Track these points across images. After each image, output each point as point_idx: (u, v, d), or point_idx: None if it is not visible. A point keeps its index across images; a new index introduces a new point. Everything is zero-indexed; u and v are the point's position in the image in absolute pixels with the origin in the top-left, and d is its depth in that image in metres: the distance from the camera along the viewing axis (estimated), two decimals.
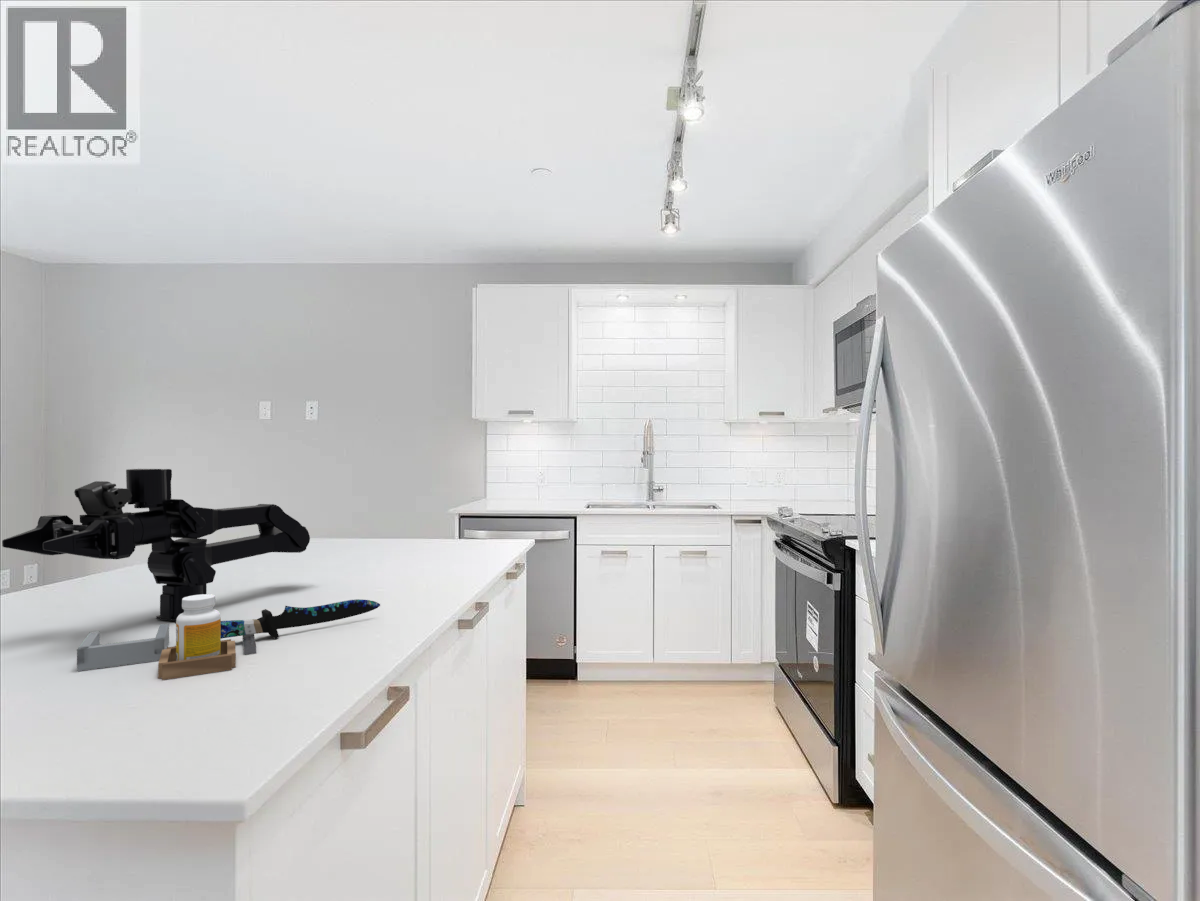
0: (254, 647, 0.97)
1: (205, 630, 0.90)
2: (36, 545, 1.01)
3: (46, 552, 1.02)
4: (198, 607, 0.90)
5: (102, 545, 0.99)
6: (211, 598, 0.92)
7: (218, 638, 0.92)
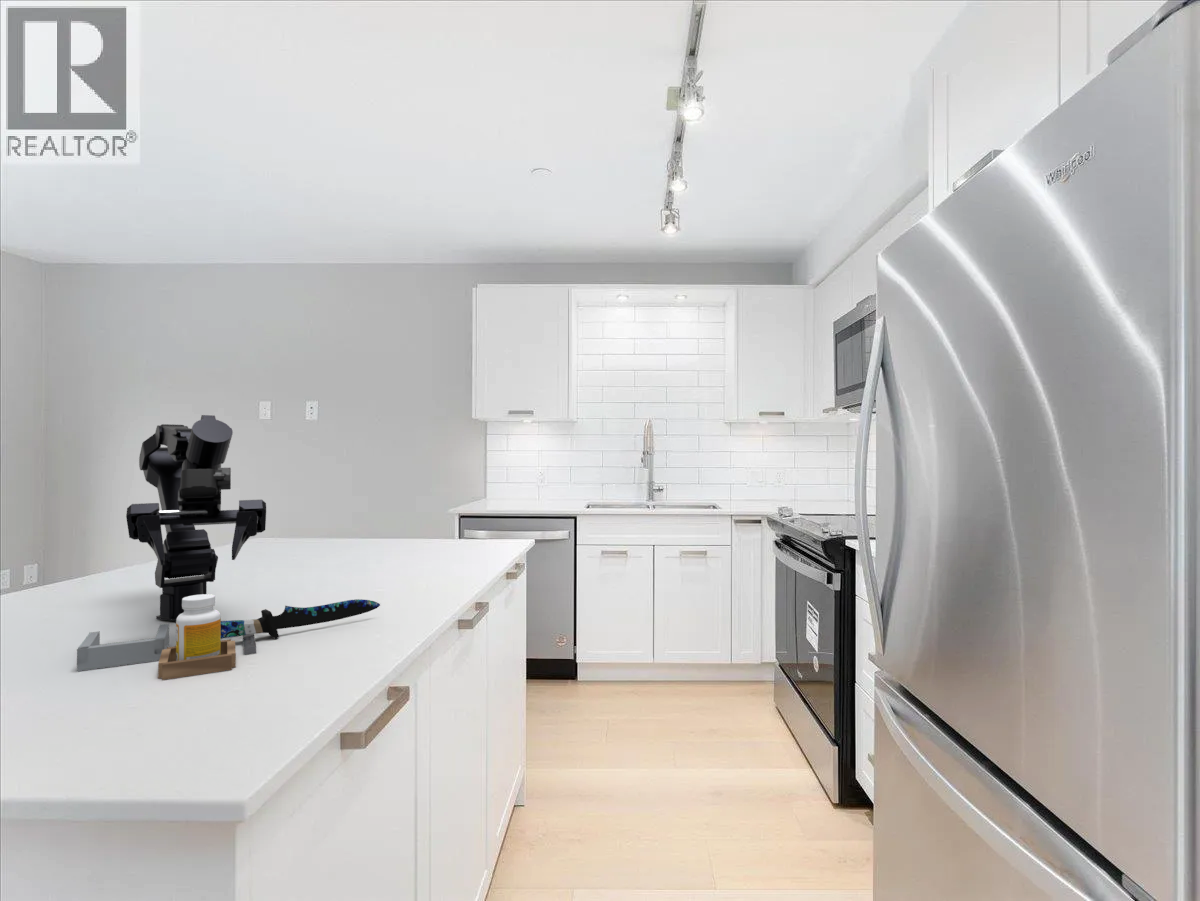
0: (254, 647, 0.97)
1: (205, 630, 0.90)
2: None
3: None
4: (198, 607, 0.90)
5: (250, 528, 1.07)
6: (211, 598, 0.92)
7: (218, 638, 0.92)
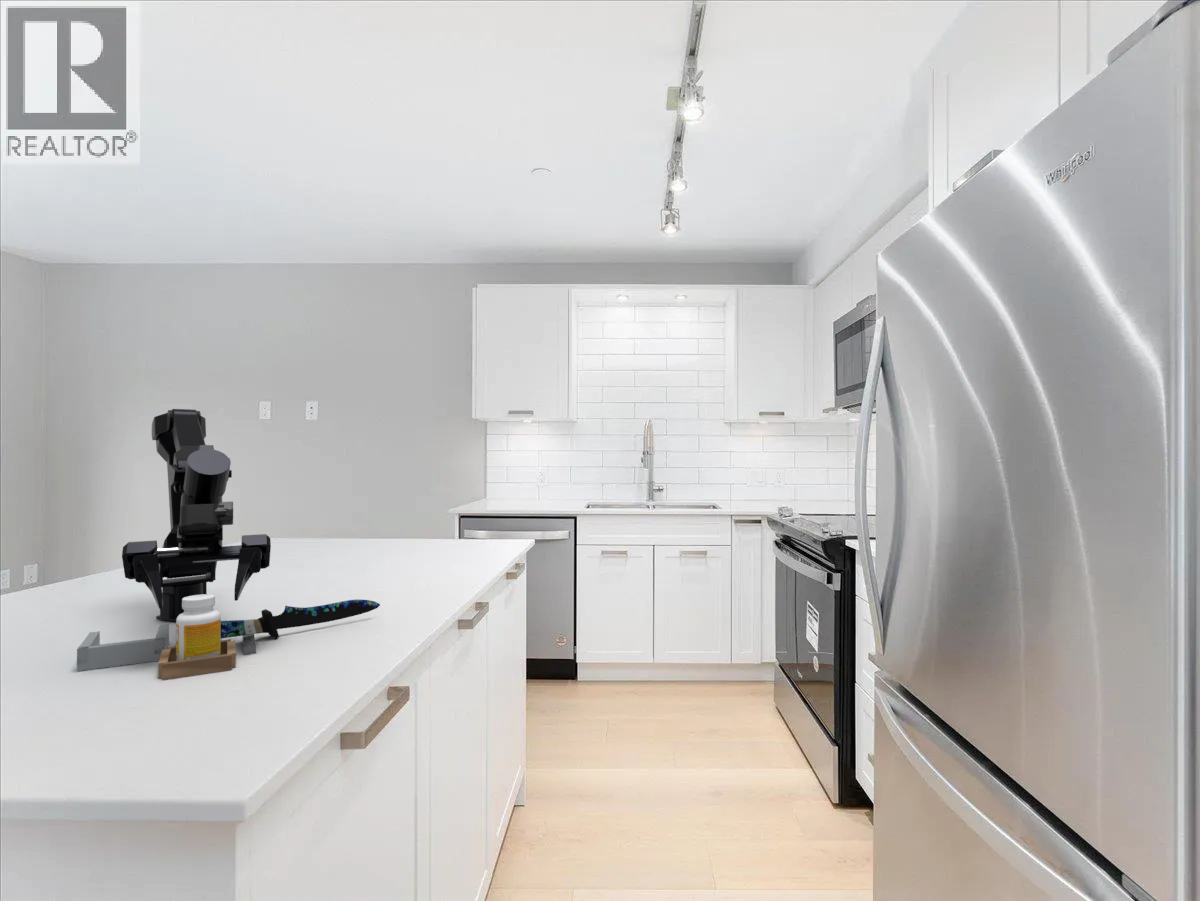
0: (254, 647, 0.97)
1: (205, 630, 0.90)
2: None
3: None
4: (199, 607, 0.90)
5: (253, 565, 1.01)
6: (211, 598, 0.92)
7: (218, 638, 0.92)
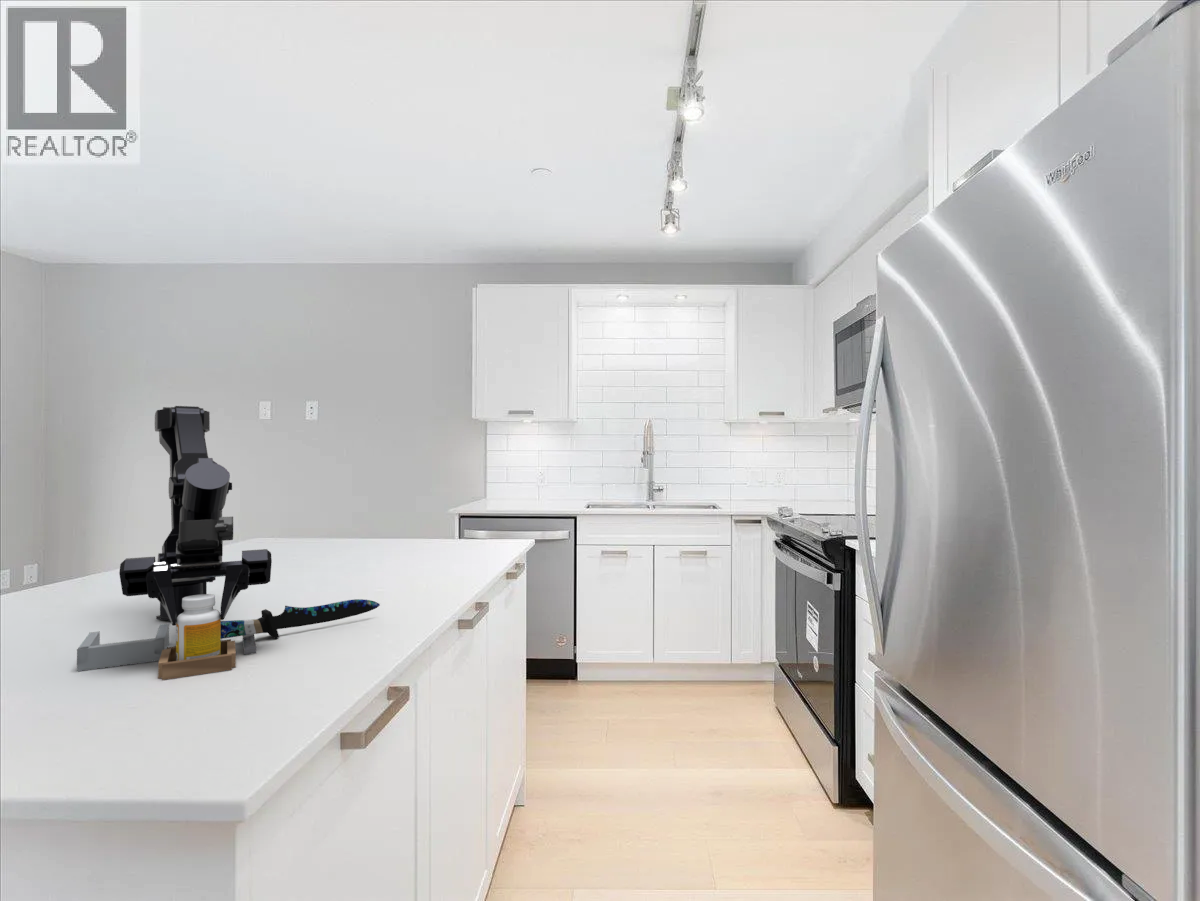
0: (254, 647, 0.97)
1: (205, 629, 0.90)
2: None
3: None
4: (199, 607, 0.90)
5: (241, 582, 0.98)
6: (211, 598, 0.92)
7: (218, 638, 0.92)
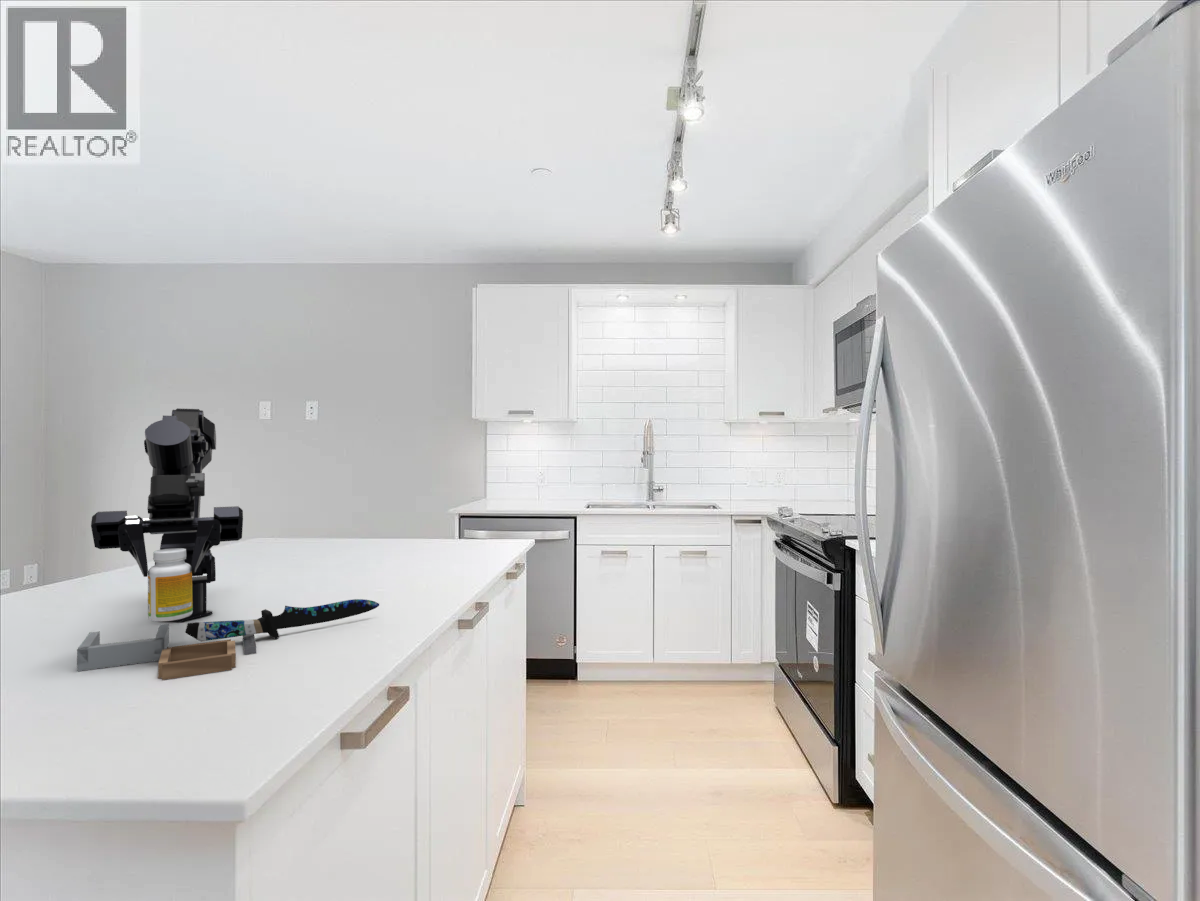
0: (254, 647, 0.97)
1: (177, 581, 0.92)
2: None
3: None
4: (170, 560, 0.92)
5: (212, 538, 1.00)
6: (182, 551, 0.94)
7: (190, 590, 0.94)
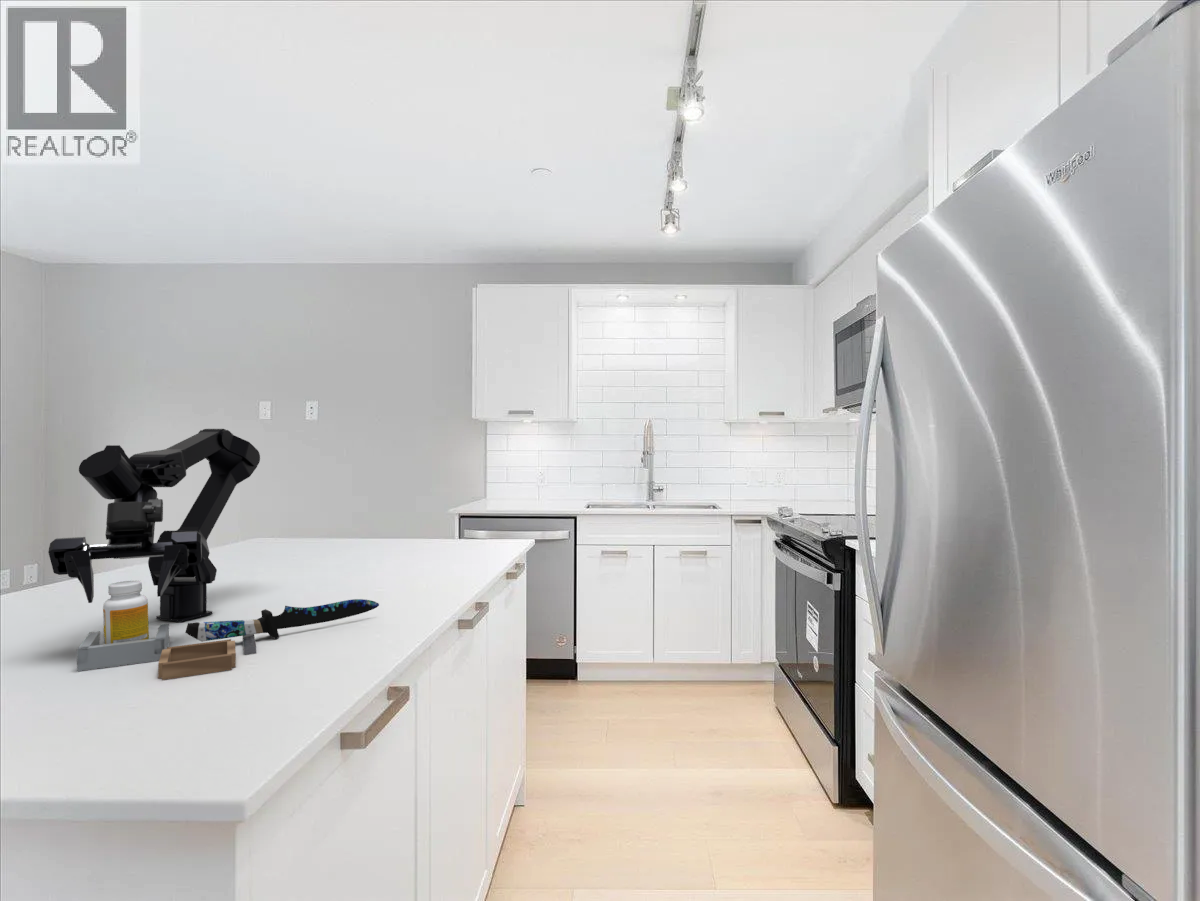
0: (254, 647, 0.97)
1: (131, 614, 0.94)
2: (92, 580, 0.96)
3: (93, 577, 0.98)
4: (124, 593, 0.94)
5: (180, 561, 1.03)
6: (137, 584, 0.96)
7: (145, 622, 0.96)
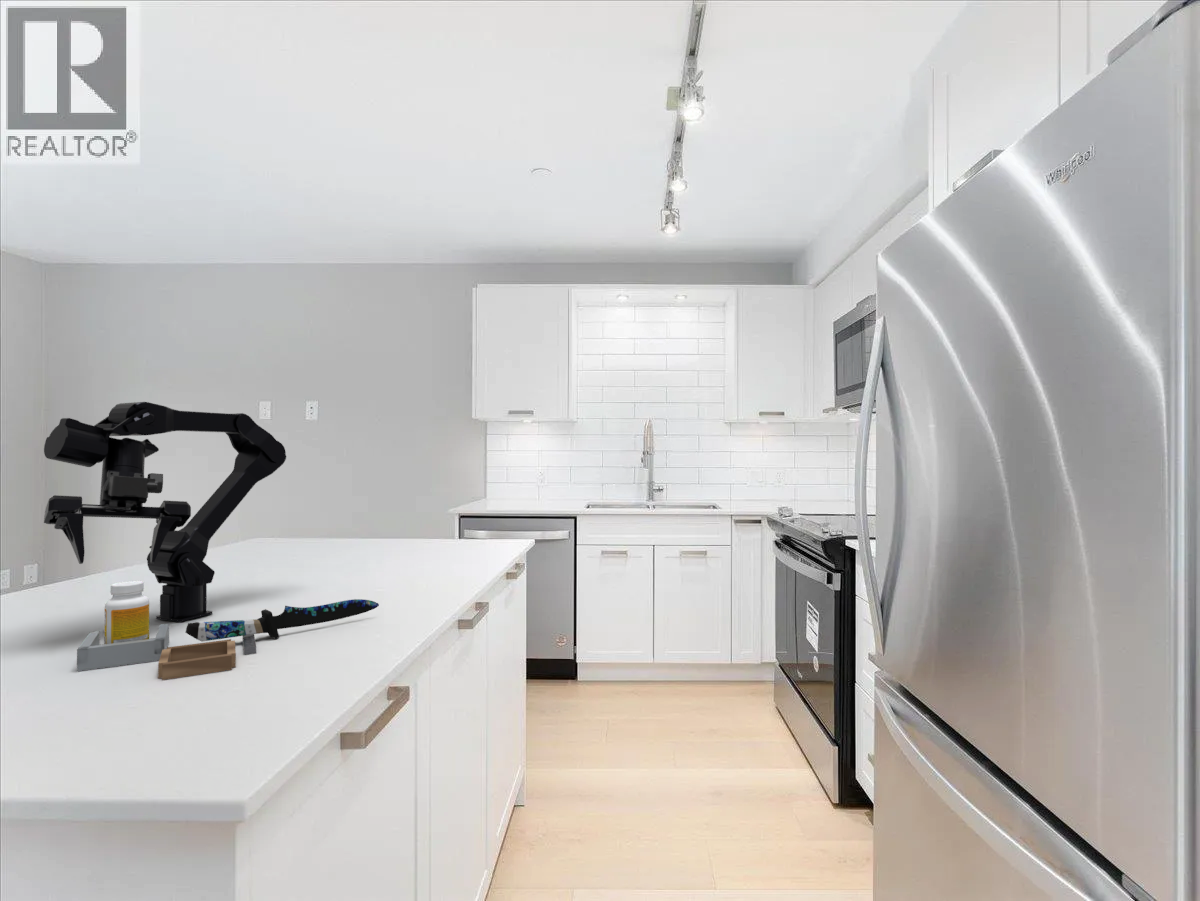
0: (254, 647, 0.97)
1: (132, 614, 0.95)
2: None
3: None
4: (126, 593, 0.95)
5: None
6: (139, 584, 0.96)
7: (146, 622, 0.97)
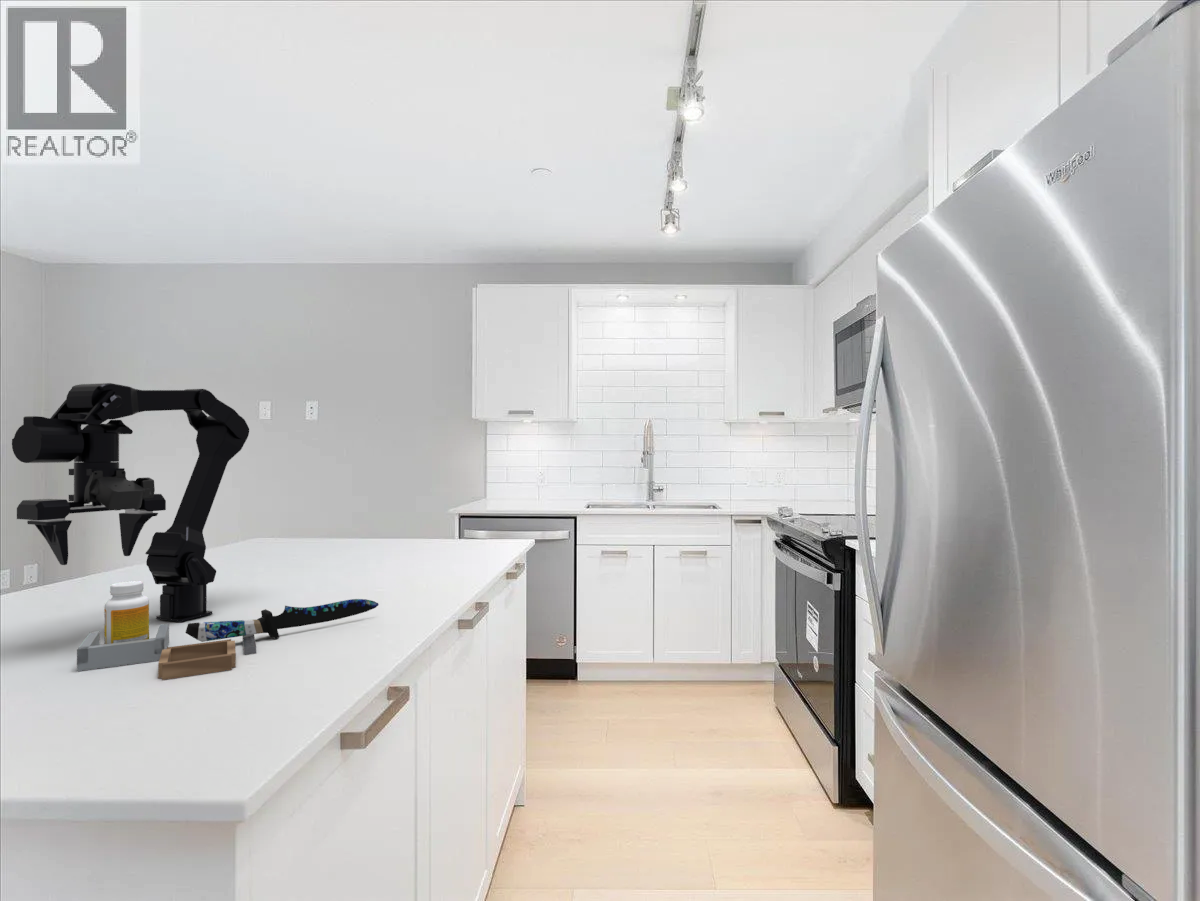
0: (254, 647, 0.97)
1: (132, 614, 0.95)
2: None
3: None
4: (126, 593, 0.95)
5: None
6: (139, 584, 0.96)
7: (146, 623, 0.97)
